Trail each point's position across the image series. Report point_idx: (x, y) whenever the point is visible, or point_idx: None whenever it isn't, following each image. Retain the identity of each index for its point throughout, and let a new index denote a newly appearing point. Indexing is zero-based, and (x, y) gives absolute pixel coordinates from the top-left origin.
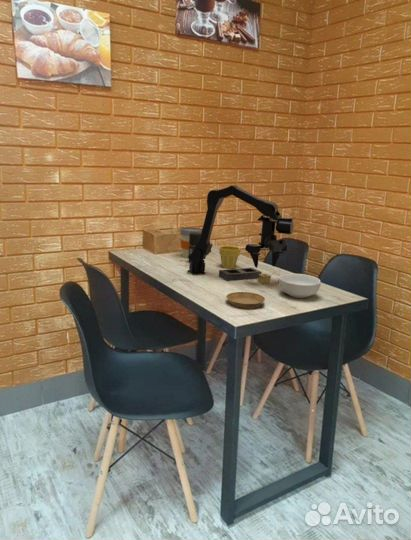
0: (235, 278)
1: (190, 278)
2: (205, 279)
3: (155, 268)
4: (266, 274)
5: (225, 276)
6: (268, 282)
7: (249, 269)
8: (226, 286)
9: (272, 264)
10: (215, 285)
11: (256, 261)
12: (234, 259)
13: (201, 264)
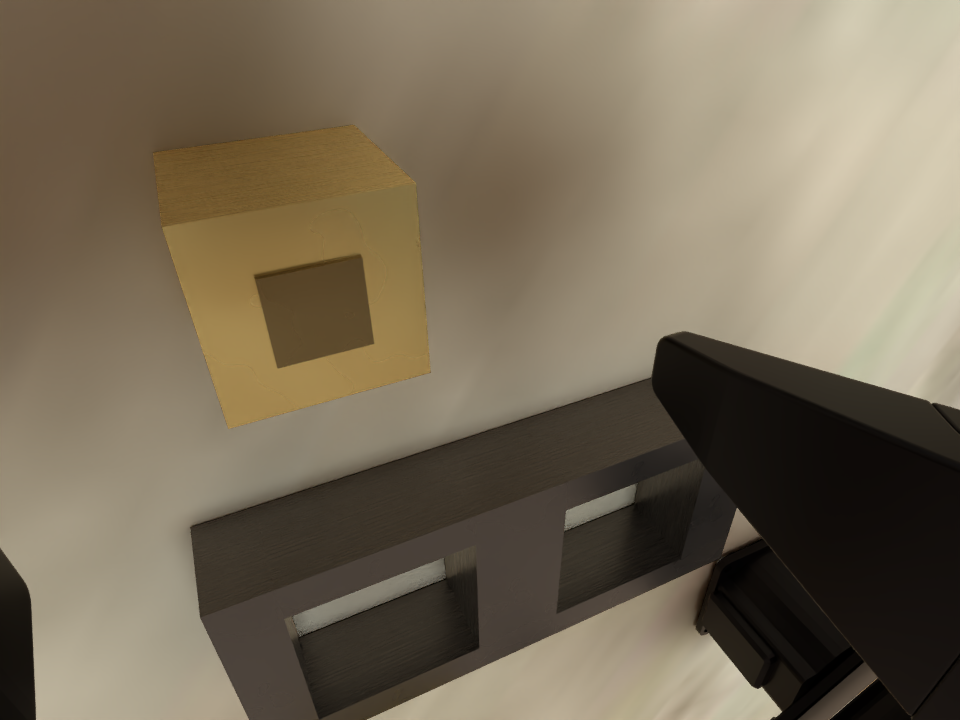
0: (630, 404)
1: None
2: None
3: None
4: (245, 347)
5: None
6: (208, 158)
7: (331, 698)
8: (858, 149)
9: (27, 638)
10: (908, 208)
11: (898, 397)
12: None
13: (813, 622)
